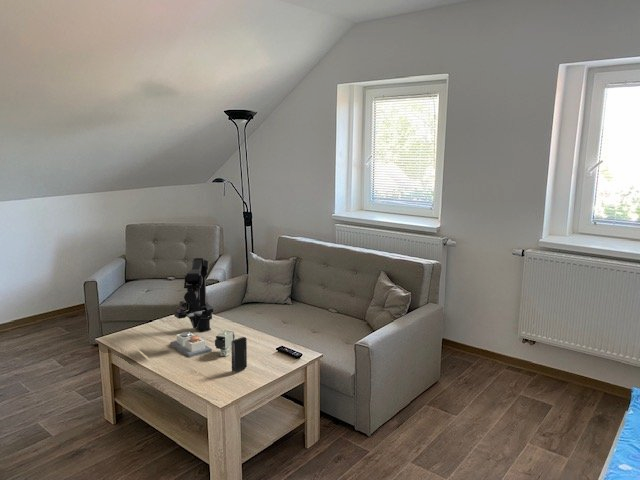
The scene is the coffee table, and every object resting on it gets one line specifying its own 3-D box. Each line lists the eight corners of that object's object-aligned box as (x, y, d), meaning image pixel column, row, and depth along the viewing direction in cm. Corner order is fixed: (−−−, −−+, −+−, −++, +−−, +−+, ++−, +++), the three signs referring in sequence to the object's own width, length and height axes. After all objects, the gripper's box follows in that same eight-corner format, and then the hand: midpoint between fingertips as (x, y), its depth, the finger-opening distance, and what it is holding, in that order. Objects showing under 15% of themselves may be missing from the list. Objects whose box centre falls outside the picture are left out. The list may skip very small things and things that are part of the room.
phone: (233, 372, 223) (232, 341, 221) (231, 372, 224) (231, 340, 221) (246, 367, 229) (246, 336, 226) (245, 367, 229) (245, 336, 227)
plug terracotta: (197, 343, 251) (197, 334, 250) (201, 346, 248) (201, 337, 247) (188, 345, 248) (188, 336, 248) (192, 348, 245) (192, 339, 244)
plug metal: (188, 340, 259) (188, 331, 258) (192, 342, 255) (192, 333, 255) (180, 342, 256) (179, 333, 255) (184, 344, 252) (183, 335, 252)
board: (191, 339, 264) (191, 329, 263) (211, 351, 248) (211, 341, 247) (170, 344, 256) (170, 334, 256) (189, 357, 240) (189, 346, 239)
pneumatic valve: (235, 351, 248) (234, 328, 247) (223, 360, 237) (222, 336, 236) (225, 350, 250) (225, 327, 248) (213, 358, 239) (212, 334, 237)
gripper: (203, 291, 256) (203, 320, 259) (168, 297, 244) (169, 327, 247) (213, 296, 248) (214, 326, 250) (178, 302, 236) (179, 333, 238)
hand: (194, 328), depth 247 cm, fingers closed
